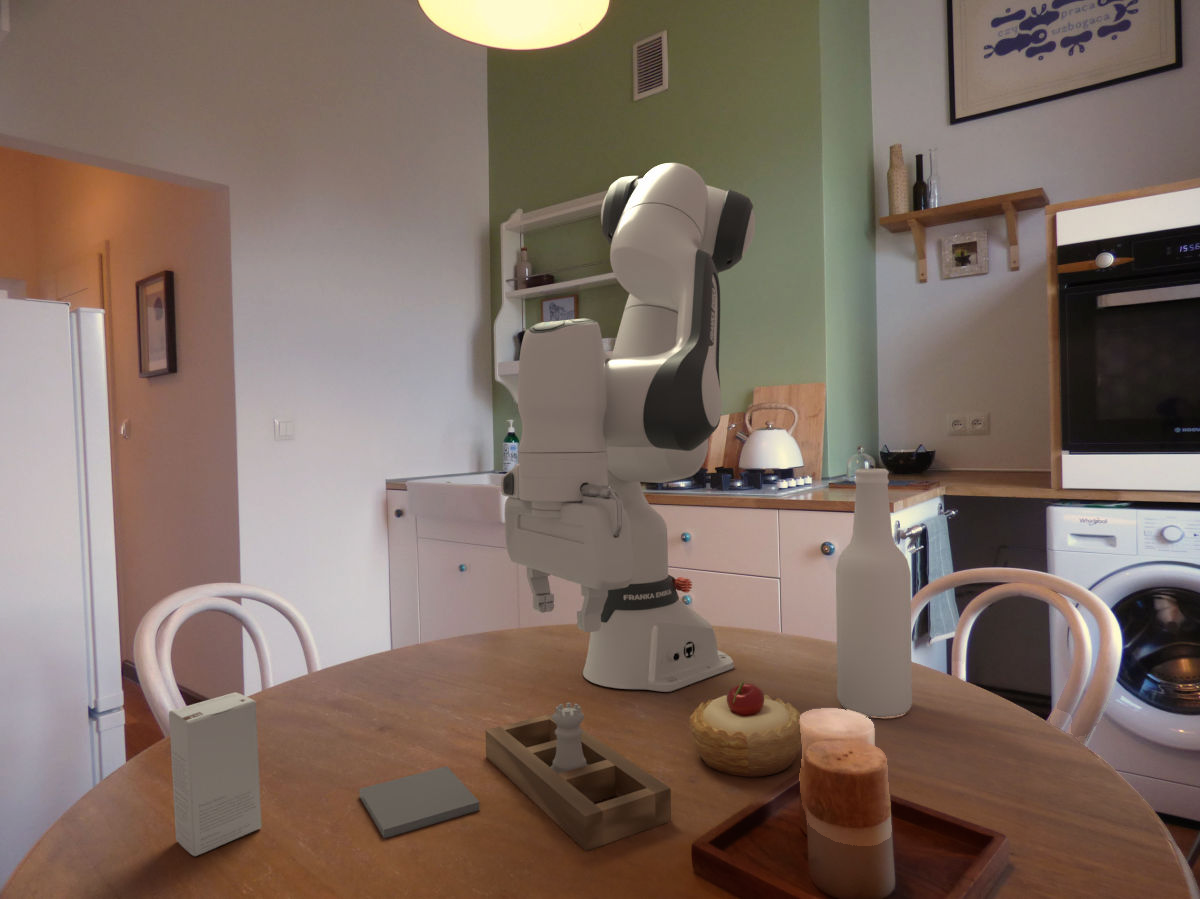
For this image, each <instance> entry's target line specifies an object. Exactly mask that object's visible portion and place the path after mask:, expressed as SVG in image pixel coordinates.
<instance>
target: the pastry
mask: <svg viewBox="0 0 1200 899" xmlns="http://www.w3.org/2000/svg"><path fill="white" fill-rule="evenodd" d="M800 715H801V716H802V714H801V713H800V711H798V709H797V708H795V706H793V705H792V704H791V703H790V702H789V701H788V702H785V701H784V700H783V699H782V698H778V697H777V698H776V699H773V698H771V696H770V695H769V694H764V692H763V690H762V689H761V688H760V687H759V686H758V685H755V684H753V683H745V680H743V681H741V682H740V684H738V685H736V686H734V687H732V688H731V689H730V690H729V691H728V693H727V694H726V695H722V696H720V697H717V698H715V699H709V700H708V701H706V702H703V701H702V702H701V703H700V704H699V705H698V707H696V708H695V710H694V711H693V712H692V714H691V715H690V717H689V719H688V720H689V727H690V733H691V740H692V743H693V745H694V747H695V750H696V751H697V754H698V755H699V756H700V757H701V758H702V760H703V761H704V762H705V764H706V765H708V767H710V768H712V769H714V770H716V771H719V772H721V773H724V774H729V775H732V776H736V777H737V776H738V777H739V776H740V777H748V778H749V777H750V778H751V777H752V778H753V777H765V776H769V775H774V774H778V773H780V772H782V771H784V770H786V769H788V768H789V767H790V766H792V764H793V762H794V761H795V760H796V758H797V756H798V755H799V753H800V750H801V747H802V744H801V733H800V724H799V719H800Z"/></svg>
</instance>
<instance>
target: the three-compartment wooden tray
mask: <svg viewBox="0 0 1200 899" xmlns="http://www.w3.org/2000/svg"><path fill="white" fill-rule="evenodd" d="M554 713H555V712H553V713H549V714H545V715H541V716H536V717H532V718H529V719H524V720H520V721H517V722H512V723H508V724H504V725H499V726H495V727H491V728H487V729H485V732H484V733H485V757H486V758H487V759H488V761H490V762H491V763H492V764H493V765H494V766H495V767H496V768H498V769H499V770H500V771H501V772H502V774H504V775H505V777H507V778H508V779H509V780H510V781H511V782H512V783H513V784H514V785H516V786H517V788H518V789H520V790H521V791H522V792H523V793H524V795H526V796H527V797H528V798H529V799H530V800H531V801H532V802H533V803H534V804H536V805H537V807H538V808H540V809H541V810H542V811H543V812H544V813H545V814H546V815H547V816H548V817H549V818H550V819H551V820H552V821H554V822H555V823H556V824H557V826H559V827H560V828H561V829H562V831H564V832H565V833H566V834H567V835H568V836H569V837H570V838H571V839H572V840H573V841H575V842H576V844H578V845H579V846H580V847H581V848H582V849H583V851H585V852H588V851H590V850H594V849H596V848H599V847H602V846H605V845H607V844H610V843H613V842H616V841H618V840H622V839H624V838H626V837H630V836H633V835H635V834H639V833H641V832H643V831H647V830H649V829H653V828H655V827H657V826H660V825H663V824H666V823H669V822H672V788H671V787H669V786H668V785H667V784H665V783H663V782H662V781H661V780H659V779H657V778H656V777H655V776H653V775H652V774H650V772H648V771H646V770H645V769H643V768H641V767H640V766H638V764H635V763H634V762H632V761H631V760H629V759H628V758H626V757H625V756H623V755H622V754H621V753H619V752H618V751H616V750H615V749H614V748H612V747H611V746H609V745H607V744H606V743H604V742H603V741H601V740H600V739H598V738H597V737H596V736H594V735H592V734H591V733H589V732H588V731H586V730H585V729H583V727H581V726H580V728H581V729H582V730H583V733H582V734H581V744H582V751H583V755H584V758H585V759H586V763H587V764H588V765H587V766H583V767H580V768H576V769H573V770H569V771H566V772H563V773H559V774H558V773H556V772H555V771H554V770H553V769H551V768H550V767H551V766H552V765H553V764H552V763H553V760H554V759H555V755H556V748H557V735H556V734H555V730H556V729H557V724H556V723H555V722H554V720H553V719H552V716H553V715H554ZM612 797H614V798H612ZM610 798H612V799H610ZM606 799H609V800H606ZM603 800H606V801H603ZM599 801H601V802H599ZM602 801H603V802H602ZM597 802H599V803H597ZM595 803H596V804H595Z"/></svg>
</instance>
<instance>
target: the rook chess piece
mask: <svg viewBox="0 0 1200 899" xmlns="http://www.w3.org/2000/svg"><path fill="white" fill-rule="evenodd" d="M557 705H558V706H556V707H555V712H553V713H554V715H553V716H552V719H553V720H554V722H555V723H556V724H557V729H556V730H555V734H556V735H557V748H556V755H555V759H554V760H553V763H552V764H553V765H552V766H551V767H550V768H551V769H553V770H554V771H555V772H556V773H558V774H559V773H563V772H566V771H569V770H573V769H576V768H580V767H583V766H587V765H588V764H587V763H586V759H585V758H584V755H583V751H582V744H581V734H582V733H583V730H584V729H583V728H582V727H581V724H582V722H583V721H584V719H585V714H584V713H583V711H582V710H581V708H582V707H581V706H580V705H579V703H574V704H573V707H572V702H566V703H565V705H566V707H564V703H560V704H557ZM580 727H581V728H582V729H583V730H582V729H581V728H580Z"/></svg>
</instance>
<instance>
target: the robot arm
mask: <svg viewBox="0 0 1200 899" xmlns="http://www.w3.org/2000/svg"><path fill="white" fill-rule="evenodd" d="M753 209H754V204H753V202H752V201H751V199H750V198H749V197H748V196H746V195H745V194H743V193H740V192H738V191H735V190H732V189H728V190H724V189H721V188H718V187H714V186H711V185H708V184H706V182H705V180H704V179H703V177H702V176H701V175H700V174H699V173H698V172H697V171H696V170H694V169H693V168H692V167H690V166H688V165H685V164H682V163H680V162H679V163H678V162H667V163H666V162H665V163H662V164H659V165H657V166H654V167H653V168H651V169H650V170H649V171H648V172H647V173H645V175H644V176H643V177H642V176H640V175H629V176H623V177H619V178H618V179H617V180H615V181H614V182H613V183H611V185H610V186H609V187H608V189H607V192H606V195H605V196H604V198H603V202H602V205H601V210H600V211H601V212H600V221H601V222H600V223H601V228H602V230H601V231H602V235H603V237H604V238H605V239H606V241H607V242H608V244H609V245H610V249H609V250H610V251H609V252H610V253H609V260H610V261H609V262H610V266H611V269H612V271H613V273H614V274H613V275H614V276H615V278H616V280H617V281H618V283H619V284H620V286H621V287H622V288H623V289H624V290H625V291H626V292H627V293H628V298H627V300H626V303H625V306H624V309H623V312H622V313H623V314H622V318H621V320H620V325H619V328H618V332H617V335H616V338H615V343H614V346H613V351H612V354H611V355H610V354H609V353H608V352H606V351H605V350H604V346H603V345H604V344H603V338H602V333H601V327H600V325H599V322H597V321H595V320H593V319H590V318H582V317H581V318H574V319H571V318H570V319H565V320H555V321H551V320H550V321H544V322H538V323H535V324H533V325H531V326H529V328H527V329H526V330H525V331H524V334H523V338H522V342H521V345H520V346H521V347H520V351H519V352H520V353H519V360H518V373H517V374H518V375H517V377H518V378H517V409H518V413H519V417H520V419H521V420H520V421H521V426H522V428H521V438H520V441H519V445H518V463H516V464H515V465H514V467H512V469H510V470H509V471H508V472H505V474H503V475H502V476H501V479H500V492H501V494H502V496H503V497H506V498H507V499H506V500H505V503H504V534H505V545H506V551H507V554H508V557H509V560H510V561H511V562H512V563H514V564H517V565H521V566H524V567H526V578H527V582H528V584H529V588H530V591H531V593H532V609H533V610H535V611H537V612H539V613H541V614H543V613H548V612H549V613H550V612H552V611H553V610H554V609H555V603H554V601H555V594H554V593H552V592H551V587H550V581H549V576H554V577H556V578H560V579H563V580H566V581H569V582H571V583H575V584H578V585H580V594H581V596H582V597H583V600H582V606H581V610H577V611H576V619H577V622H576V627H577V628H578V629H579V630H581V631H583V632H585V633H588V634H590V635H589V640H588V641H589V642H588V649H587V653H586V654H587V655H586V660H585V664H584V667H583V670H582V675H583V677H584V678H585V679H586V680H587V681H589V682H591V683H593V684H595V685H599V686H602V687H606V688H613V689H622V690H623V689H624V690H648V691H655V692H662V693H663V692H664V693H668V692H672V691H677V690H678V689H681V688H684V687H686V686H688V685H692V684H695V683H697V682H700V681H702V680H705V679H708V678H710V677H713V676H716V675H718V674H722V673H724V672H727V671H730V670H732V669H734V667H735V665H734V660H733V659H732V657H731V656H729V655H728V654H726V653H725V652H723V651H721V650H719V649H718V642H717V637H716V632H715V630H714V627H713V625H712V624H711V623H710V621H708V619H705V618H704V617H703V616H702V615H700V614H698V612H696V611H695V610H693V609H692V608H691V607H690V606H688V605H687V604H685V603H684V602H683V601H682V600H680V597H679V593H678V592H677V591H680V592H683V593H690V591H691V589H692V588H693V581H691V579H690V578H686V577H685V578H684V577H682V576H679V577H677V578H675V577H673V576H672V575H670V574H669V555H668V554H669V552H668V550H669V549H668V547H669V546H668V541H669V540H668V527H667V523H666V521H665V518H663V517H662V515H661V514H660V513H659V512H658V511H656V510H655V509H654V508H653V507H652V506H651V505H650V504H649V502H648V500H647V498H646V496H645V494H644V492H643V489H642V484H641V483H655V484H657V483H658V484H659V483H660V484H663V483H668V482H674V481H679V480H683V479H687V478H691V477H692V476H694V475H696V474H697V473H698V472H699V471H700V469H701V468H702V466H703V465H704V463H705V461H706V458H707V454H708V451H709V450H708V449H709V438H710V437H711V436H712V435H713V433H714V432H715V431H716V430H717V428H718V427H719V425H720V421H721V417H722V415H721V414H722V395H721V394H722V392H721V381H720V341H721V340H720V336H721V285H720V278H719V273H722V272H724V271H727V270H730V269H732V268H733V267H734V266H736V265H737V264H738V263H739V262H740V261H741V260H742V259H743V257H744V255H745V253H747V251H748V249H750V246H751V244H752V241H753V239H754V236H755V232H756V216H755V213H754V210H753Z"/></svg>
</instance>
